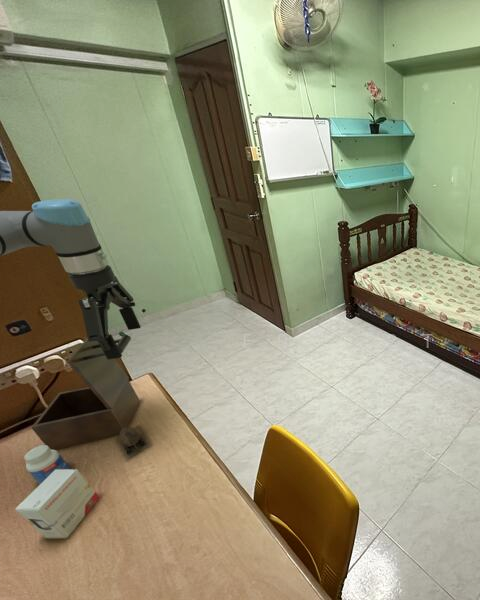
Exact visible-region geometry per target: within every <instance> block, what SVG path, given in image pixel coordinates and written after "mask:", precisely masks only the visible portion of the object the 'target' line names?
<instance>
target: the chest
mask: <svg viewBox="0 0 480 600" xmlns="http://www.w3.org/2000/svg"><path fill="white" fill-rule="evenodd" d="M140 402H141V400H140V398H139V396H138V395H137V392H136V391H135V389H134V387H133V385H132V383H131V382H130V380H129V379H128V381H127V382H126V384H125V386H124V388H123V389H122V391H121V393H120V395H119V397H118V398H117V400H116V402H115V404H114V405H113V407H112V409H109V410H108V409H107V407H106V406H105V405H104V404H103V403H102V402H101V401H100V399H99V398H98V397H97V396H96V395H95V394H94V392H93V391H92V390H91V389H90V388H89V387H88V386H86V387H82V388H76V389H71V390H66V391H61V392H58V393H57V395H56V396H55V397H54V398H53V399H52V401H51V402H50V403H49V404H48V406H47V407H46V408H45V410H43V411H42V413H41V414H40V416H39V417H38V418H37V419H36V421H35V422H34V423H33V424H32V425H31V427H30V428H31V430H32V431H33V432H34V433H35V435H36V436H37V437H38V438H39V439H40V440H41V442H42V443H43V445H47V446H48V447H49V448H50V449H51V450H56V451H57V450H59V449H64V448H69V447H73V446H78V445H80V444H86V443H89V442H94V441H98V440H103V439H106V438H111V437H115V436H119V433H120V431H121V430H122V429H123V428H125V427H130V423H131V422H132V419H133V417H134V415H135V413H136V411H137V409H138V406H139V405H140Z"/></svg>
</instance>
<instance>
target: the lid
mask: <svg viewBox="0 0 480 600" xmlns="http://www.w3.org/2000/svg"><path fill="white" fill-rule="evenodd" d="M131 340H132V337H131V335H128V334H126V335H122V336H121V338H119V339H114V341H115V343H116V344H117V346H118V348H119V350H120V352H121V354H123V352H124V351H125V350H126V348H127V347H128V345H129V343H130V342H131ZM66 362H67V364H68V365H69V366H70V367H71V368H72V370H73V371H74V372H75V373H76V374H77V375H78V377H79V378H80V379H81V380H82V381H83V382H84V384H86V386H87V387H89V388H90V389H91V390H92V391H93V392H94V394H95V395H96V396H97V397H98V398H99V399H100V401H101V402H102V403H103V404H104V405H105V406H106V407H107V409H108V410H109V409H112V407H113V405H114V404H115V402H116V400H117V398H118V397H119V395H120V393H121V391H122V389H123V388H124V386H125V384H126V382H127V381H128V380H129V379H130V377H129V376H128V374H127V373H126V372H125V370H124V369H123V368H122V366H121V365H120V363H119V362H118V361H117V360H116V358H115V359H109V360H108V359H107V357H106V355H105V354H104V352H103V350H102V348H101V346H100V345H99V343H98V341H91V342H89V341H88V337H87V338H85V340H84V341H83V342H82V343H81V344H80V346H79V347H78V348H77V349H76V350H75V351H74V352H73V354H72V355H71V356H70V357H69V358H68V359H67V360H66Z"/></svg>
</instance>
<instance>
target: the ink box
mask: <svg viewBox="0 0 480 600" xmlns="http://www.w3.org/2000/svg"><path fill="white" fill-rule="evenodd" d="M99 499H100V495H98V493H97V492H96V491H95V490H94V488H93V487H92V486H91V484H90V483H89V482H88V480H87V479H86V478H85V477H84V476H83V475H82V473H81V472H80V471H79V470H78V469H76V468H74V469H73V468H70V469H55V470H54V471H53V472H52V473H51V474H50V475H49V476H48V477H47V478H46V479H45V480H44V481H43V482H42V483H41V484H39V485H38V486H37V487H36V488H35V489H34V490H33V491H31V493H29V494H28V495H27V496H26V497H25V499H23V500H22V501H21V502H20V503H19V504H18V505H17V506H16V507H15V511H16V512H17V513H18V514H20V515H21V516H22V517H23V518H24V519H25V520H26V521H27V522H28V523H29V524H30V525H31V526H32V527H33V528H34V529H36V531H37V532H39V534H40V535H42V536H43V537H44V538H45V539H67V538H68V537H69V536H70V535H71V534H72V532H73V531H74V530H75V529H76V527H78V526H79V524H80V522H81V521H82V520H83V519H84V518H85V517H86V516H87V514H88V512H89V511H90V510H91V509H92V507H93V506H94V505H95V504H96V503H97V501H98V500H99Z"/></svg>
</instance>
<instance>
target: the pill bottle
mask: <svg viewBox="0 0 480 600" xmlns="http://www.w3.org/2000/svg"><path fill="white" fill-rule="evenodd" d="M23 458H24V461H25V462H26V465H25V469H26V470H27V472H28V473H29V474H30V475H31V477H32V478H33V479H34V480H35V481H36V483H38V484H39V485H40V484H41V483H42V482H43V481H44V480H45V479H46V478H47V477H48V476H49V475H50V474H51V473H52V472H53V471H54V470H55V469H71V467H70V465H68V463H67V462H66V460H65V459H64V457H62V455H61V454H60V453H59V451H58V450H57V449H56V450H51V449H50V448H49V447H48V446H47V445H45V444H40V445H37V446H35V447H33V448H32V449H30V450H28V451H27V452H26V453H25V454H24V457H23Z"/></svg>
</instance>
